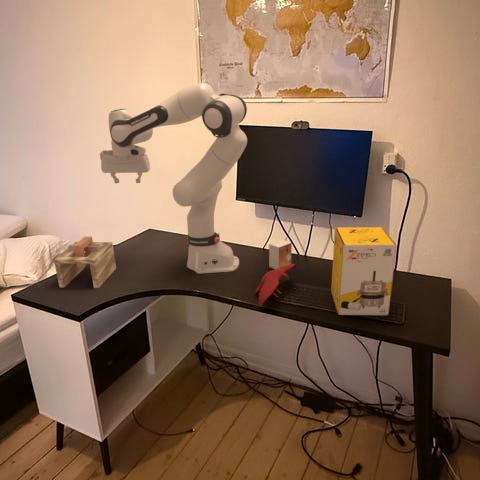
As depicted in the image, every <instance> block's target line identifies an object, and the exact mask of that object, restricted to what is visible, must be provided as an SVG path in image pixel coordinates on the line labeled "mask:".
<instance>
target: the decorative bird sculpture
mask: <svg viewBox="0 0 480 480" xmlns="http://www.w3.org/2000/svg"><path fill="white" fill-rule="evenodd" d="M295 266H296V263H291V264H290V265H286V266H282V267H280V268H279V269H272V270H270V271H267V272H266V273H265V274H264V275H263V276H262V278H261V281H260V283H259V284H258V286H257V288H256V289H255V294H258V296H259V297H258V303H257V304H258V305H259V307H261V306H262V305H263V304H264V303H266V301H267V299H268V298H269V297H270V296H271V295H274V296H276V298H280V295H281V294H282V293H283V291H279V290H278V285H279V284H280V281H281V280H282V279H283V278H285V279H286V280H289V275H288V274H287V273H289V272H290V271H291V270H292V269H293V267H295ZM274 291H277V292H278V294H279V295H277V294H276V293H275V292H274Z"/></svg>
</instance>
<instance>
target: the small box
mask: <svg viewBox="0 0 480 480" xmlns="http://www.w3.org/2000/svg"><path fill="white" fill-rule="evenodd" d="M292 244H293V243H292V242H291V241H288V240H285V239H280V240H277V241H275V242H273V243H269V244H268V245H269V246H268V247H269V248H268V250H269V253H268V255H269V256H268V258H269V259H268V264H269V266H268V267H269V268H271V269H272V270H275V269H279V268H280V267H282V266H286V265H290V264H292V247H293V246H292Z"/></svg>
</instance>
